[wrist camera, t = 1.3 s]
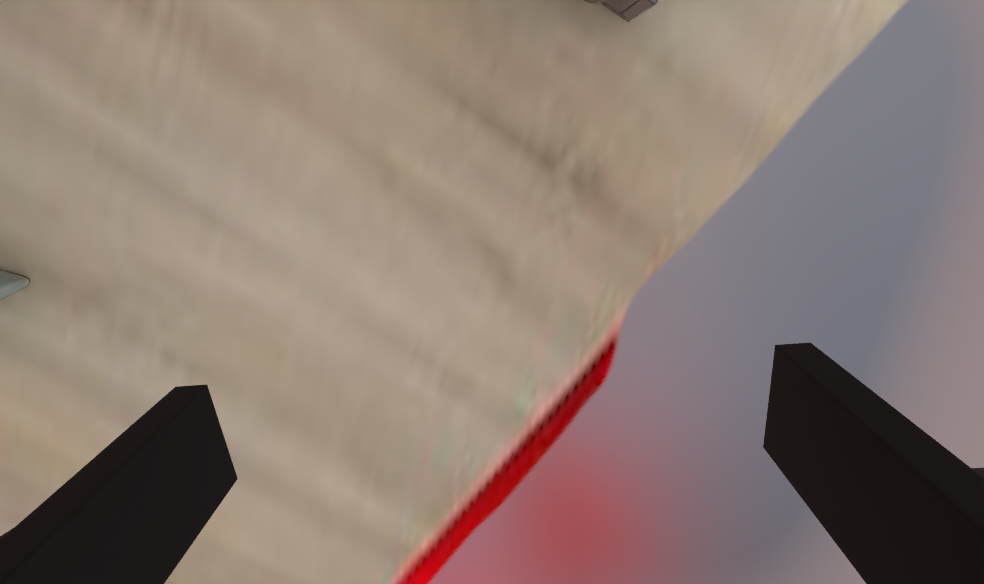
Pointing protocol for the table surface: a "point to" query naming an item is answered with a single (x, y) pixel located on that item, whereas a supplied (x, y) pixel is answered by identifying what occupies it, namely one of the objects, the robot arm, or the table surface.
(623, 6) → the sink
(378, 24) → the table surface
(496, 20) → the table surface
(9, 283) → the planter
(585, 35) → the table surface
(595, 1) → the spout
